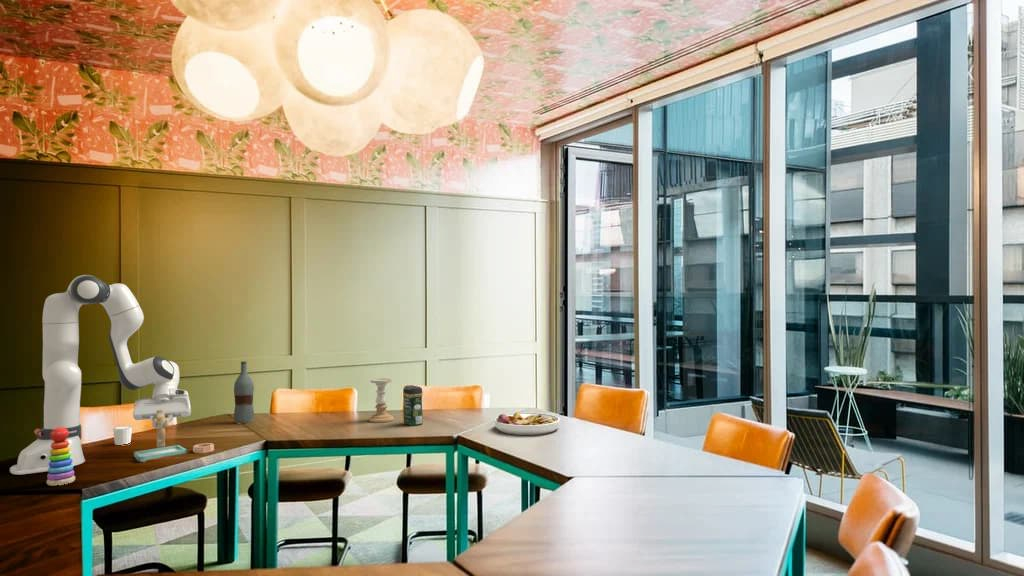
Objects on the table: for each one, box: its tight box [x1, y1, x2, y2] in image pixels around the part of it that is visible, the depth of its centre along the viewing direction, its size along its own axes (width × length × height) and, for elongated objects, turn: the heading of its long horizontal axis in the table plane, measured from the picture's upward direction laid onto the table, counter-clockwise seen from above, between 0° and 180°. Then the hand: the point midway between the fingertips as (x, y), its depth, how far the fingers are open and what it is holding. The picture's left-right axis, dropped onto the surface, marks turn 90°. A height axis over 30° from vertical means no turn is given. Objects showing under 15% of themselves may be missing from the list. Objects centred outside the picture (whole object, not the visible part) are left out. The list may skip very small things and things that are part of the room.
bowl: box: [493, 412, 561, 436], centre depth 293 cm, size 30×30×8 cm
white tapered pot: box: [112, 425, 133, 446], centre depth 271 cm, size 7×7×7 cm
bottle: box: [233, 361, 255, 424], centre depth 315 cm, size 9×9×30 cm
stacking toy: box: [46, 427, 76, 487], centre depth 215 cm, size 8×8×19 cm
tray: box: [133, 444, 188, 463], centre depth 249 cm, size 16×11×2 cm
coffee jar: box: [402, 384, 424, 427], centre depth 307 cm, size 10×8×19 cm
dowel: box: [156, 410, 166, 448], centre depth 250 cm, size 3×3×14 cm
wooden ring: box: [192, 442, 215, 454], centre depth 254 cm, size 7×7×3 cm
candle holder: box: [368, 378, 395, 424], centre depth 317 cm, size 12×12×20 cm
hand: (160, 426), depth 249 cm, fingers closed on dowel, 3 cm apart
